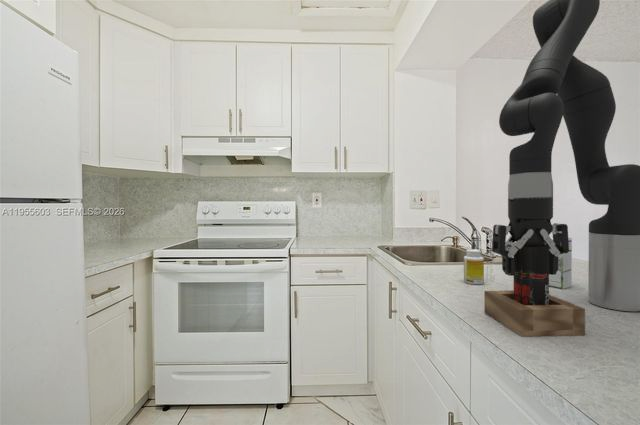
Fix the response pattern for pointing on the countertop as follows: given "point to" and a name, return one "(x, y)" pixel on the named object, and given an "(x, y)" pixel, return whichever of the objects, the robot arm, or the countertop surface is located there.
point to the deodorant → (532, 275)
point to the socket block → (535, 315)
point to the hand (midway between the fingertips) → (529, 274)
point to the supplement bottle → (474, 267)
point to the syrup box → (563, 270)
